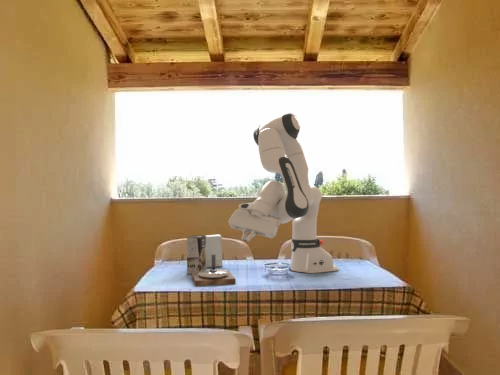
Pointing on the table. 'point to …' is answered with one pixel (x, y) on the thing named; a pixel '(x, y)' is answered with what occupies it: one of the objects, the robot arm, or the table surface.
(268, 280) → the table surface
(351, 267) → the table surface
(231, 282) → the dial board
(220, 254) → the skincare box
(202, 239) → the coffee box
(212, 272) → the dial
